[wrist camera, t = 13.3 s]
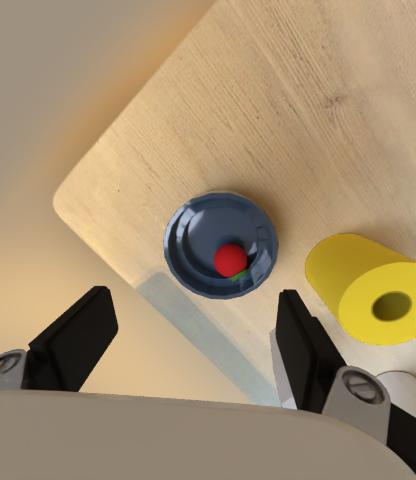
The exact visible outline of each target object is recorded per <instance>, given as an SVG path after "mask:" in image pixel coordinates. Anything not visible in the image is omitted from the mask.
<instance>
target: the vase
mask: <svg viewBox="0 0 416 480" xmlns="http://www.w3.org/2000/svg"><path fill="white" fill-rule="evenodd" d="M376 378H377V379H378V380H379V381H380V382H381V383H382V384H383V385H384V386H385V388H386V389H387V391H388V393H389V395H390V400H391V402H392V403H393V404H395V405H397V406H398V407H400V408H401V409H403V410H404V411H406V412H408V413H409V414H411V415H412V416H414V417H416V378H415V377H413V376H412V375H410V374H407V373H405V372H398V371H395V372H387V373H383V374H381V375H378V376H377V377H376Z"/></svg>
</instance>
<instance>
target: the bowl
mask: <svg viewBox="0 0 416 480" xmlns="http://www.w3.org/2000/svg"><path fill="white" fill-rule="evenodd" d="M163 242H164V255H165V259H166V261H167V264H168V266H169V268H170V271H171V273H172V274H173V275H174V276H175V277H176V279H177V280H178V281H179V282H180V283H181V284H182V285H183V286H184V287H186V288H187V289H189V290H190V291H192V292H193V293H195V294H198V295H201V296H204V297H207V298H210V299H225V300H226V299H232V298H236V297H241V296H244V295H245V294H247V293H249V292H251V291H253V290H255V289H257V288H258V287H259V286H260V285H261V284H262V283H263V282H264V281H265V280H266V279H267V278H268V277H269V275H270V273H271V271H272V269H273V267H274V265H275V263H276V260H277V252H278V240H277V236H276V231H275V227H274V225H273V224H272V222H271V221H270V219H269V218H268V216H267V215H266V213H265V212H264V211H263V209H262V208H261V207H260V206H259V205H257V204H256V203H255V202H253V201H252V200H251V199H250V198H248V197H247V196H246V195H243V194H240V193H237V192H234V191H231V190H211V191H208V192H205V193H202V194H199V195H197V196H196V197H194V198H193V199H191V200H190V201H189V202H187V203H186V204H185V205H183V206H182V207H181V208H179V209H178V210H177V211H176V213H175V214H174V216H173V217H172V219H171V220H170V222H169V223H168V225H167V229H166V233H165V236H164V241H163ZM226 244H235V245H238V246H239V247H241V248H242V249H243V250H244V251H245V253H246V256H247V266H246V268H245V269H247V270H248V271H249V273H248V274H246V275H245V276H243V277H242V278H240V279H238V280H236V281H235V282H232V281H231V278H232V277H225V276H223V275H221V274H220V273H219V272H218V271H217V270H216V268H215V265H214V255H215V253H216V251H217V250H218V249H219V248H220V247H221V246H223V245H226Z"/></svg>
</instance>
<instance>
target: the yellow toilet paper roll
mask: <svg viewBox="0 0 416 480" xmlns="http://www.w3.org/2000/svg"><path fill="white" fill-rule="evenodd" d="M305 274H306V278H307V280H308V282H309V283H310V285H311V286H312V287H313V289H314V290H315V291H316V293H317V294H318V295H319V297H320V298H321V299H322V301H323V302H324V303H325V305H326V306H327V307H328V309H329V310H330V311H331V313H332V314H333V315H334V317H335V318H336V319H337V321H338V322H339V323H340V325H341V326H342V327H343V329H344V330H345V331H346V332H347V333H348V334H349V335H350V336H351V337H353V338H354V339H356V340H358V341H361V342H363V343H367V344H371V345H395V344H400V343H404V342H407V341H410V340H412V339H414V338H416V261H414V260H412V259H410V258H408V257H406V256H404V255H401V254H399V253H397V252H395V251H393V250H391V249H388V248H386V247H384V246H382V245H380V244H378V243H376V242H373V241H371V240H369V239H367V238H365V237H363V236H360V235H357V234H349V233H346V234H338V235H334V236H331V237H329V238H327V239H325V240H323V241H322V242H320V243H319V244H318V245H317V246H315V247H314V249H313V250H312V251H311V252H310V254H309V256H308V258H307V260H306V264H305Z"/></svg>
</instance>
